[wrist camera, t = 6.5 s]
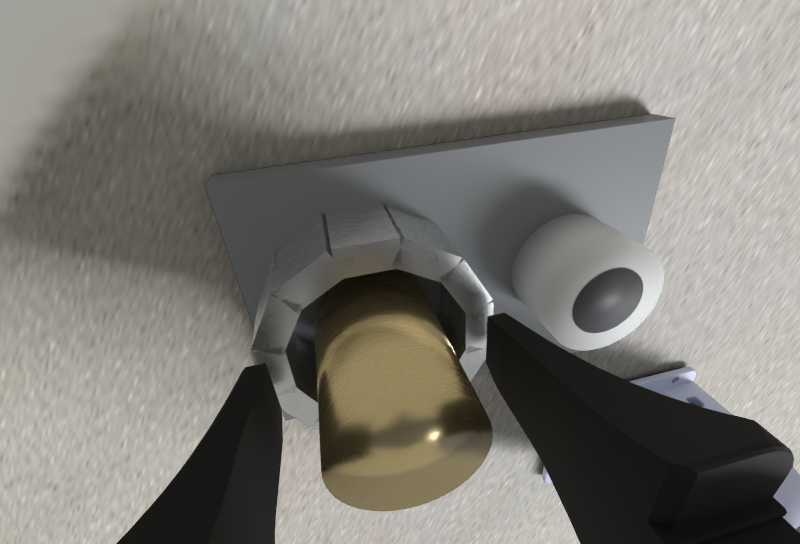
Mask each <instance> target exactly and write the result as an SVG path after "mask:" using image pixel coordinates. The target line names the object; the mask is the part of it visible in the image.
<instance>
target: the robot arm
mask: <svg viewBox="0 0 800 544" xmlns="http://www.w3.org/2000/svg"><path fill="white" fill-rule="evenodd" d="M486 364H487V366H488V368H489V371H490V373H491V375H492V377H493V380H494V382H495V384H496V386H497V388H498V390H499V392H500V393H501V395H502V397H503V398H504V400H505V401H506V403H507V405H508V406H509V408H510V410H511V411H512V413H513V414H514V416H515V418H516V419H517V421H518V422H519V424H520V426H521V427H522V429H523V430H524V432H525V434H526V435H527V437H528V438H529V440H530V442H531V443H532V445H533V446H534V448H535V450H536V452H537V453H538V455H539V457H540V459H541V461H542V463H543V465H544V468H543V474H542V479H543V480H544V482H545V483H547V484H551V483H553V485H554V487H555V489H556V491H557V493H558V495H559V497H560V499H561V502H562V504H563V506H564V508H565V510H566V512H567V514H568V516H569V519H570V521H571V523H572V525H573V528H574V530H575V532H576V534H577V537H578V539H579V541H580V543H581V544H800V475H799V473H798V472H797V471H796V470H795V469H794V468H793V461H794V458H793V454H792V452H791V450H790V449H789V448H788V447H786V446H785V445H784V444H783V443H781V442H780V441H779V440H778V439H777V438H775V437H774V436H773V435H772V434H770V433H769V432H768V431H767V430H765V429H764V428H763V427H762V426H761V425H759V424H758V423H757V422H755V421H754V420H750V419H746V418H742V417H738V416H734V415H732V414H731V413H730V412H729V411H728V410H726V409H725V408H724V407H723V406H722V405H720V404H719V403H718V402H717V401H716V400H714V399H713V398H712V397H711V396H710V395H708V394H707V393H706V392H705V391H704V390H702V389H701V388H700V387H699V386H698V385H697V384H695V383H694V382H693V381H694V378H695V376H696V371H695V370H694V369H693V368H692V367H684V368H680V369H676V370H672V371H668V372H664V373H660V374H656V375H652V376H648V377H644V378H640V379H636V380H632V381H626V380H624V379H622V378H619V377H617V376H615V375H613V374H611V373H608V372H606V371H604V370H602V369H600V368H598V367H596V366H594V365H592V364H590V363H588V362H586V361H584V360H582V359H580V358H578V357H577V356H575V355H573V354H571V353H569V352H567V351H566V350H564V349H562V348H560V347H559V346H557V345H555V344H554V343H552V342H550V341H549V340H547V339H546V338H544V337H542V336H541V335H539V334H538V333H536V332H534V331H533V330H531V329H530V328H528V327H527V326H525V325H523V324H522V323H520V322H519V321H517V320H516V319H514V318H513V317H511V316H509V315H508V314H506V313H500V314H496V315H491V316H487V343H486ZM282 442H283V436H282V409H281V406H280V403H279V400H278V397H277V394H276V391H275V388H274V385H273V382H272V380H271V377H270V374H269V371H268V368H267V365H266V363H264V364H259V365H254V366H250V367H245V369H244V370H243V371H242V373H241V375H240V377H239V379H238V380H237V382H236V384H235V386H234V388H233V389H232V391H231V393H230V395H229V396H228V398H227V400H226V402H225V403H224V405H223V407H222V408H221V410H220V412H219V413H218V415H217V417H216V418H215V420H214V422H213V423H212V425H211V426H210V428H209V430H208V431H207V433H206V434H205V436H204V437H203V438H202V440H201V441H200V443H199V444H198V446H197V447H196V449H195V450H194V452H193V453H192V455H191V456H190V457H189V459H188V460H187V462H186V463H185V464H184V466H183V467H182V468H181V470H180V471H179V472H178V474H177V475H176V476H175V478H174V479H173V480H172V481H171V483H170V484H169V485H168V486H167V488H166V489H165V490H164V491H163V493H162V494H161V495H160V496H159V497H158V498H157V500H156V501H155V502H154V503H153V504H152V505H151V507H150V508H149V509H148V510H147V511H146V512H145V513H144V514H143V516H142V517H141V518H140V519H139V520H138V521H137V522H136V523H135V525H134V526H133V527H132V528H131V529H130V530H129V531H128V532H127V533H126V534H125V535H124V536H123V537H122V538H121V539H120V540H119V541H118V543H117V544H275V519H276V507H277V496H278V486H279V475H280V465H281V454H282Z"/></svg>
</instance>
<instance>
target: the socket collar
mask: <svg viewBox="0 0 800 544" xmlns="http://www.w3.org/2000/svg"><path fill="white" fill-rule="evenodd" d="M325 216H326V219H325V218H324V216H323V215H322V214H321V215H319V216H318V217H317V218H316V219H314V220H313V221H312V222H310V223H309V224H308V225H307V226H305V227H304V228H303V229H301V230H300V231H299V232H298V233H296V234H295V235H294V236H293V237H291V238H290V239H289V240H287V241H286V242H285V243H284V244H282V245H281V246H280V247H278V248H277V252H276V251H275V253H274V256H273V259H272V262H271V265H270V267H269V270H268V273H267V276H266V279H265V282H264V285H263V287H262V290H261V293H260V296H259V301H258V307H257V313H256V319H255V326H254V332H253V338H252V344H251V355H252V358H253V361H254V363H255V365H259V364H264V363H266V365H267V368H268V371H269V374H270V377H271V380H272V382H273V385H274V388H275V391H276V394H277V397H278V400H279V403H280V406H281V409H282V410H284V411H285V412H287V413H288V414H290V415H291V416H293V417H294V418H296V419H297V420H299V421H300V422H302V423H303V424H305V425H306V426H308V427H309V428H310V427H311V426H313V429H318V430H319V413H318V393H317V374H316V354H315V348H314V347H313V346H312V345H311V344H309V343H308V342H307V341H306V340H305V339H303V338H302V337H301V336H300V335H299V334H297V333H296V329H295V325H296V323H297V320H298V318H299V315H300V313H301V310H302V309H304V308H305V307H306V306H308V305H309V304H310V303H312V302H313V301H314V300H316V299H317V298H318V297H320V296H321V295H322V294H324V293H325V292H326V291H328V290H329V289H330V288H332V287H333V286H334V285H336V284H337V283H338V282H340V281H341V280H342V279H344V278H349V277H355V276H360V275H365V274H371V273H376V272H382V271H387V270H392V269H399V270H402V271H406V272H409V273H412V274H415V275H418V276H422V277H425V278H428V279H431V280H434V281H438V282H439V288H440V305H439V307H438V308H437V310H436V312H435V315H436V317H437V319H438V320H439V322H440V324H441V326H442V328H443V330H444V332H445V334H446V336H447V338H448V340H449V342H450V344H451V346H452V348H453V350H454V352H455V353H456V355H457V357H458V359H459V361H460V363H461V365H462V367H463V369H464V371H465V373H466V375H467V377H468V379H469V381H470V382H471V380H472V379H473V377H474V376H475V374H476V373H477V371H478V370H479V368H480V367H481V365H482V364H483V362H484V360H485V359H486V343H487V316H491V315H493V309H494V302H493V301H492V300H493V299H492V298H491V296H490V295H489V293H488V292H487V291H486V289H485V288H484V286H483V285H482V284H481V282H480V281H479V279H478V278H477V277H476V275H475V274H474V272H473V271H472V270H471V268H470V267H469V265H468V264H467V263H466V261H465V260H464V258H463V257H462V256H461V255H460V253H459V252H458V251H457V250H456V248H455V247H454V246H453V245H452V243H451V242H450V241H449V240H448V238H447V237H446V236H445V235H444V233H443V232H442V231H441V230H440V228H439V227H438V226H437V224H435V223H434V222H432V221H430V220H427V219H424V218H422V217H419V216H416V215H414V214H411V213H408V212H406V211H403V210H401V209H398V208H395V207H393V206H390V205H387V204H385V206H384V207H383V205H382V203H381V204H375V205H368V206H362V207H356V208H350V209H343V210H337V211H331V212H325Z"/></svg>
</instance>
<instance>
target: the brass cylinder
mask: <svg viewBox="0 0 800 544" xmlns="http://www.w3.org/2000/svg"><path fill="white" fill-rule="evenodd" d="M313 314H314V334H315V354H316V374H317V393H318V413H319V433H320V452H321V472H322V478H323V481H324V483H325V486H326V487H327V489H328V490H329V492H330V493H331V494H332V495H333V496H334V497H335V498H337V499H338V500H340V501H341V502H343V503H345V504H347V505H350V506H353V507H356V508H359V509H364V510H372V511H393V510H401V509H407V508H411V507H415V506H418V505H422V504H425V503H428V502H430V501H433V500H435V499H437V498H439V497H441V496H444V495H445V494H447V493H449V492H451V491H452V490H454V489H455V488H457V487H458V486H460V485H461V484H462V483H464V482H465V481H466V480H467V479H469V478H470V477H471V476H472V475H473V474H474V473H475V472H476V470H477V469H478V468H479V467H480V466H481V464H482V463H483V461H484V460H485V458H486V456H487V454H488V452H489V450H490V447H491V443H492V437H493V434H492V426H491V422H490V420H489V418H488V416H487V414H486V412H485V410H484V408H483V406H482V404H481V402H480V400H479V398H478V396H477V394H476V392H475V390H474V388H473V386H472V385H471V383H470V381H469V379H468V377H467V375H466V373H465V371H464V369H463V367H462V365H461V363H460V361H459V359H458V357H457V355H456V353H455V352H454V350H453V348H452V346H451V344H450V342H449V340H448V338H447V336H446V334H445V332H444V330H443V328H442V326H441V324H440V322H439V320H438V319H437V317H436V315H435V313H434V311H433V309H432V307H431V305H430V303H429V301H428V299H427V297H426V295H425V293H424V291H423V289H422V287H421V285H420V284H419V282H418V280H417V278H416V276H415V275H414V274H412V273H409V272H406V271H402V270H399V269H392V270H387V271H382V272H376V273H371V274H365V275H360V276H355V277H349V278H344V279H342V280H341V281H340V282H338V283H337V284H336V285H334V286H333V287H332V288H330V289H329V290H328V291H326V292H325V293H324V294H322V295H321V296H320V297H318V298H317V299H316V300H314V302H313Z"/></svg>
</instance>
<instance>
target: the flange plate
mask: <svg viewBox="0 0 800 544" xmlns="http://www.w3.org/2000/svg"><path fill="white" fill-rule="evenodd" d="M674 122H675V118H671V117H666V116H660V115H654V114H647V115H640V116H633V117H626V118H619V119H611V120H604V121H597V122H590V123H583V124H576V125H568V126H561V127H554V128H547V129H540V130H533V131H525V132H518V133H511V134H504V135H497V136H490V137H482V138H475V139H468V140H461V141H454V142H447V143H439V144H432V145H425V146H418V147H411V148H404V149H396V150H389V151H382V152H375V153H368V154H361V155H353V156H346V157H339V158H332V159H325V160H318V161H310V162H303V163H296V164H289V165H282V166H275V167H267V168H260V169H253V170H246V171H239V172H232V173H224V174H217V175H212V176H211V177H210V179H209V180H208V182H207V183H206V184H205V188H206V190H207V193H208V196H209V199H210V202H211V205H212V208H213V211H214V214H215V217H216V220H217V222H218V225H219V228H220V231H221V234H222V237H223V240H224V243H225V246H226V249H227V252H228V254H229V257H230V260H231V263H232V266H233V269H234V272H235V275H236V278H237V281H238V284H239V286H240V289H241V292H242V295H243V298H244V301H245V304H246V307H247V310H248V313H249V316H250V318H251V321H252V324H253V327H254V326H255V319H256V313H257V307H258V301H259V296H260V293H261V290H262V287H263V285H264V282H265V279H266V276H267V273H268V270H269V267H270V265H271V262H272V259H273V256H274V253H275V251H276V252H277V248H278V247H280V246H281V245H282V244H284V243H285V242H286V241H287V240H289V239H290V238H291V237H293V236H294V235H295V234H296V233H298V232H299V231H300V230H301V229H303V228H304V227H305V226H307V225H308V224H309V223H310V222H312V221H313V220H314V219H316V218H317V217H318V216H319V215H321V214H322V215H323V216H324V218H325V219H326V216H325V212H331V211H337V210H343V209H350V208H356V207H362V206H368V205H375V204H381V203H382V205H383V207H384V206H385V204H387V205H390V206H393V207H395V208H398V209H401V210H403V211H406V212H408V213H411V214H414V215H416V216H419V217H422V218H424V219H427V220H430V221H432V222H434V223H435V224H437V226H438V227H439V228H440V230H441V231H442V232H443V233H444V235H445V236H446V237H447V238H448V240H449V241H450V242H451V243H452V245H453V246H454V247H455V248H456V250H457V251H458V252H459V253H460V255H461V256H462V257H463V258H464V260H465V261H466V263H467V264H468V265H469V267H470V268H471V270H472V271H473V272H474V274H475V275H476V277H477V278H478V279H479V281H480V282H481V284H482V285H483V286H484V288H485V289H486V291H487V292H488V293H489V295H490V296H491V298H492V299H493V300H492V301H493V302H494V309H493V315H496V314H500V313H506V314H508V315H509V316H511V317H513V318H514V319H516V320H517V321H519V322H520V323H522V324H523V325H525V326H527V327H528V328H530V329H531V330H533V331H534V332H536V333H538V334H539V335H541V336H542V337H544V338H546V339H547V340H549V341H550V342H552V343H554V344H555V345H557V346H559V347H560V348H562V349H564V350H566V351H567V352H569V353H571V354H572V353H576V352H580V351H586V350H594V349H599V348H602V347H605V346H608V345H610V344H614V343H619V340H620V339H622V338H623V337H625V336H626V335H628V334H629V333H630V332H632V331H633V330H634V329H635V328H636V327H638V326H639V325H640V324H641V323H642V322H643V321H644V319H645V318H646V317H647V316H648V315H649V313H650V312H651V311H652V309H653V308H654V306H655V304H656V302H657V300H658V298H659V296H660V294H661V291H662V287H663V283H664V269H663V265H662V262H661V260H660V258H659V257H658V256H657V254H655V253H654V252H653V251H652V250H650V249H649V248H647V247H645V246H643V244H644V240H645V236H646V232H647V228H648V224H649V221H650V217H651V213H652V209H653V205H654V201H655V197H656V193H657V189H658V185H659V181H660V177H661V173H662V169H663V165H664V161H665V157H666V153H667V150H668V146H669V142H670V138H671V134H672V130H673V126H674ZM414 275H415V274H414ZM415 276H416V278H417V280H418V282H419V284H420V285H421V287H422V289H423V291H424V293H425V295H426V297H427V299H428V301H429V303H430V305H431V307H432V309H433V311H434V313H435V312H436V310H437V308H438V307H439V305H440V288H439V282H438V281H434V280H431V279H428V278H425V277H422V276H418V275H415ZM313 302H314V301H313ZM313 302H312V303H310V304H309V305H308V306H306V307H305V308H304V309H302V310H301V313H300V315H299V318H298V320H297V323H296V325H295V329H296V333H297V334H299V335H300V336H301V337H302V338H303V339H305V340H306V341H307V342H308V343H309V344H311V345H312V346H313V347H314V348H315V334H314V314H313ZM486 373H490V371H489V368H488V366H487V364H486V359H485V360H484V362H483V364H482V365H481V367H480V368H479V370H478V371H477V373H476V374H475V376H478V375H482V374H486ZM282 412H283V414H284V417H285V420H290V419H294V417H293V416H291V415H290V414H288V413H287V412H285V411H284V410H282Z"/></svg>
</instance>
